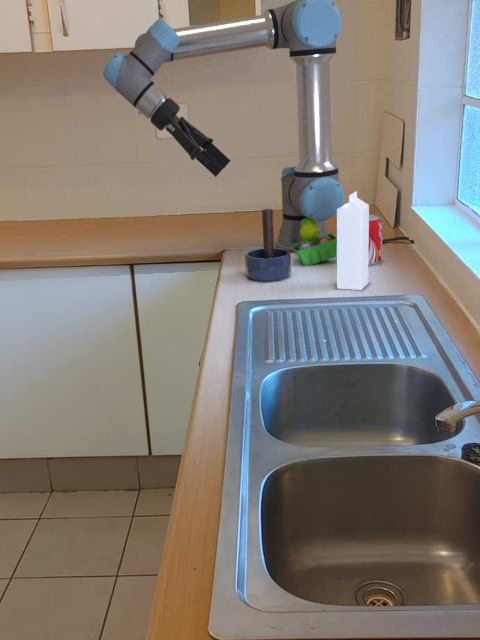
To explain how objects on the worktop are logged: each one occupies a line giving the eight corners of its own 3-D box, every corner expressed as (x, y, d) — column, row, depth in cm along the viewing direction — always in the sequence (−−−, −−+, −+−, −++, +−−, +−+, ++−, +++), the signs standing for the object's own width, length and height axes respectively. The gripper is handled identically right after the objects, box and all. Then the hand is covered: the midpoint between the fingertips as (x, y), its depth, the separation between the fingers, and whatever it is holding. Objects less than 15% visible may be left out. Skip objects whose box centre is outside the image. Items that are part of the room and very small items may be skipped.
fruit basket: (301, 269, 199) (290, 229, 195) (295, 262, 207) (284, 223, 203) (342, 256, 199) (332, 215, 195) (334, 250, 207) (324, 210, 203)
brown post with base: (278, 270, 194) (276, 207, 188) (280, 275, 189) (278, 210, 183) (258, 271, 194) (256, 208, 188) (260, 276, 189) (257, 212, 183)
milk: (336, 289, 179) (335, 195, 170) (344, 281, 184) (343, 190, 175) (361, 290, 176) (361, 195, 168) (368, 283, 181) (369, 190, 173)
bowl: (281, 268, 199) (280, 245, 196) (297, 278, 189) (297, 255, 186) (240, 273, 196) (239, 251, 194) (254, 284, 186) (253, 261, 183)
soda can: (379, 266, 195) (380, 220, 190) (352, 265, 197) (352, 219, 193) (383, 259, 201) (384, 214, 196) (357, 258, 203) (357, 214, 199)
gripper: (160, 116, 196) (220, 172, 200) (137, 125, 174) (205, 188, 177) (178, 93, 194) (239, 150, 197) (157, 99, 171) (226, 163, 174)
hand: (223, 168), depth 187 cm, fingers open, 13 cm apart
